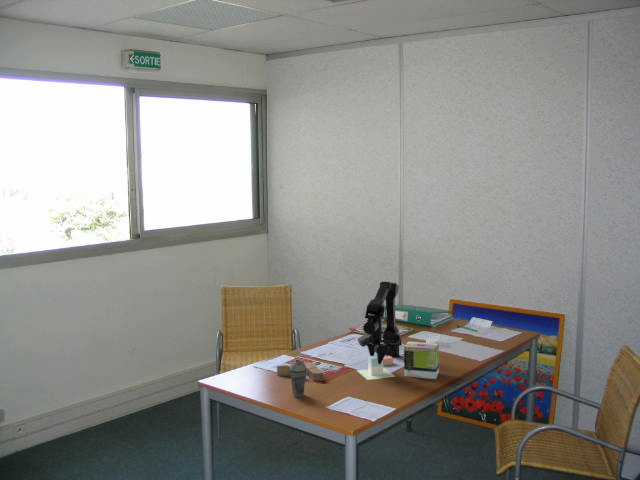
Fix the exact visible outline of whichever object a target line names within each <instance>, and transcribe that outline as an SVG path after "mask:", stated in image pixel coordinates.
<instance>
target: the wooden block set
mask: <svg viewBox="0 0 640 480" xmlns="http://www.w3.org/2000/svg"><path fill="white" fill-rule="evenodd" d="M303 363H304V364H305V366H306V374H305V379H306V378H307V377H308V376H309V377H308V378H310V379H311V380H312V381H314V382H319V381H320V382H324V372H322V371H321V370H320V369H319V368H318V367H317V366H316V365H315V364H313V363H312V362H311V361H307V362H303ZM290 366H291V365H289V364H284V365H283V364H282V365H277V366H276V374H277V375H276V376H280V377H291V374H290ZM306 375H307V376H306Z"/></svg>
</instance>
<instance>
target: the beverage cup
mask: <svg viewBox="0 0 640 480" xmlns="http://www.w3.org/2000/svg"><path fill="white" fill-rule="evenodd" d="M301 353H302V350H299V356H298V359H296V360H294V361H292V363H291V364H290V365H289V366H290V374H291V378H290V379H291V387H292V389H291V391H292V395H293V397H295V398H302V397H304V396H305V395H304V393H305V382H306V378H305V374H306V366H305V364H304V363H305V362H303V361H302V360H301V355H302V354H301Z"/></svg>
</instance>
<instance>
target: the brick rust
mask: <svg viewBox="0 0 640 480" xmlns="http://www.w3.org/2000/svg"><path fill="white" fill-rule="evenodd" d="M393 365H394V357H393V358H392V357H391V356H386V355H385V356H384V358H383V367H386V366H393Z"/></svg>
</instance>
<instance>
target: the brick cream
mask: <svg viewBox="0 0 640 480" xmlns="http://www.w3.org/2000/svg"><path fill="white" fill-rule="evenodd" d="M367 365H368V364H367ZM383 367H384V366H377V367H370V366H369V365H368V367H367V369H368V373H369V374H370V375H379V374H383Z"/></svg>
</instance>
